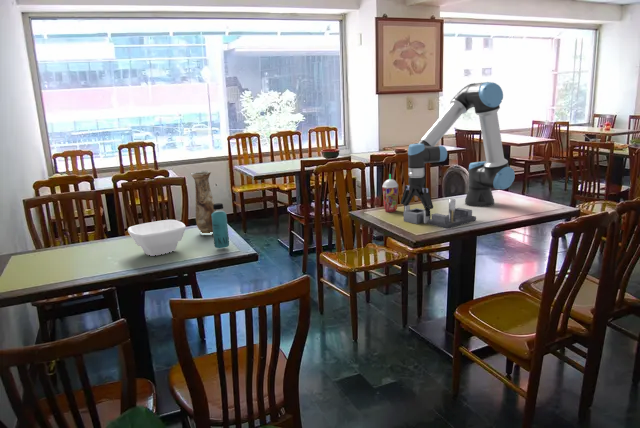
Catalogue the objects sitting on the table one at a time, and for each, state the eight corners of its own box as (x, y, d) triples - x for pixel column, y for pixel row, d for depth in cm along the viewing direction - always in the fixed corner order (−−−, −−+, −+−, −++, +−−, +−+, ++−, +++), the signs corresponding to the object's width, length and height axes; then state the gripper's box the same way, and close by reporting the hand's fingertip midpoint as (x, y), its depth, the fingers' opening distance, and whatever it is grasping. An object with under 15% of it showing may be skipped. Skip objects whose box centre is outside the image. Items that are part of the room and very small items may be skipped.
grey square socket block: (416, 217, 246) (416, 208, 245) (430, 220, 239) (430, 210, 238) (403, 221, 241) (403, 211, 240) (417, 224, 234) (416, 213, 233)
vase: (223, 232, 238) (217, 171, 231) (204, 237, 231) (197, 174, 224) (211, 229, 245) (205, 169, 239) (192, 234, 238) (185, 172, 231)
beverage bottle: (217, 247, 214) (212, 202, 210) (232, 247, 213) (227, 201, 209) (212, 251, 208) (207, 205, 203) (227, 251, 207) (223, 205, 203)
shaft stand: (456, 216, 244) (456, 194, 242) (476, 220, 234) (476, 198, 232) (427, 224, 233) (427, 201, 231) (447, 228, 224) (447, 204, 221)
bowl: (126, 252, 213) (122, 227, 211) (176, 242, 226) (173, 217, 223) (141, 265, 196) (137, 236, 193) (194, 253, 208) (191, 226, 205)
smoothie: (395, 213, 258) (394, 175, 254) (380, 212, 262) (379, 175, 258) (400, 209, 265) (400, 173, 261) (386, 209, 269) (385, 172, 265)
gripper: (393, 175, 243) (393, 217, 248) (430, 180, 223) (429, 226, 228) (404, 173, 247) (404, 215, 252) (441, 178, 228) (441, 223, 232)
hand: (416, 220), depth 240 cm, fingers open, 12 cm apart
